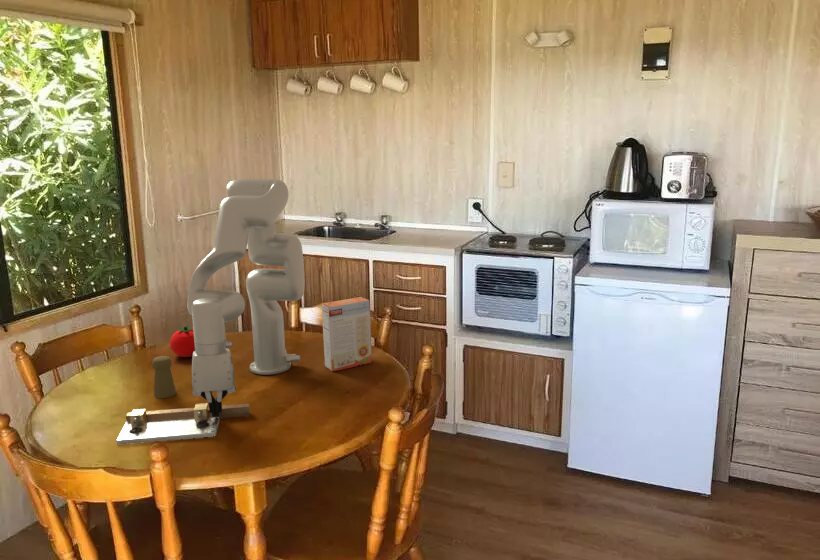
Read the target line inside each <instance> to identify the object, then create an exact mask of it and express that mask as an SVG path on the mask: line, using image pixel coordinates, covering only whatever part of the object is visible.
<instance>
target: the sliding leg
mask: <svg viewBox="0 0 820 560" xmlns="http://www.w3.org/2000/svg"><path fill="white" fill-rule="evenodd" d="M208 407H209V403H208V402H206V403H195V405H194V407H193V408H194V418H195V422H196V421H198V423H201V421H207V419H208V415H209V412H208Z"/></svg>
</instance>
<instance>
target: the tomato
mask: <svg viewBox="0 0 820 560" xmlns="http://www.w3.org/2000/svg"><path fill="white" fill-rule="evenodd" d="M178 329H179V330H178ZM169 341H170V342H169V346H170V349H171V351H172V352H173V353H174V354H175V355H176V356H178V357H182V358H190V357H193V352H194V351H195V342H194V330H193V327H191V328H190V325H189V324H188V325H187V326H184V327H183V328H182V327H180V326H179V327H178V326H177V330H176V331H175V332H174V333H173V334H172V335H171V337H170V340H169Z"/></svg>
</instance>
